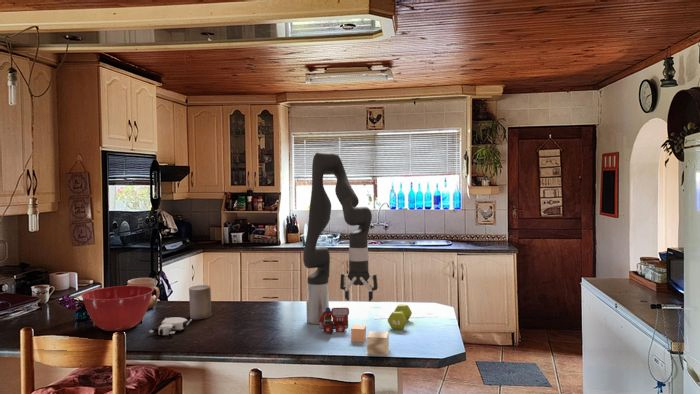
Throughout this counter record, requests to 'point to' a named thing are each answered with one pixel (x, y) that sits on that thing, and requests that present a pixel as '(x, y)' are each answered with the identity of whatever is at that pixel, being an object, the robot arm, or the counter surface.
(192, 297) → the pillar candle
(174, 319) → the robot toy
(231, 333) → the counter surface
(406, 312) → the dumbbell
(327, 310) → the toy fire truck
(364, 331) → the terracotta block
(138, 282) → the ceramic jug
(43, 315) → the counter surface
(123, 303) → the mixing bowl
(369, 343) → the maple base block
